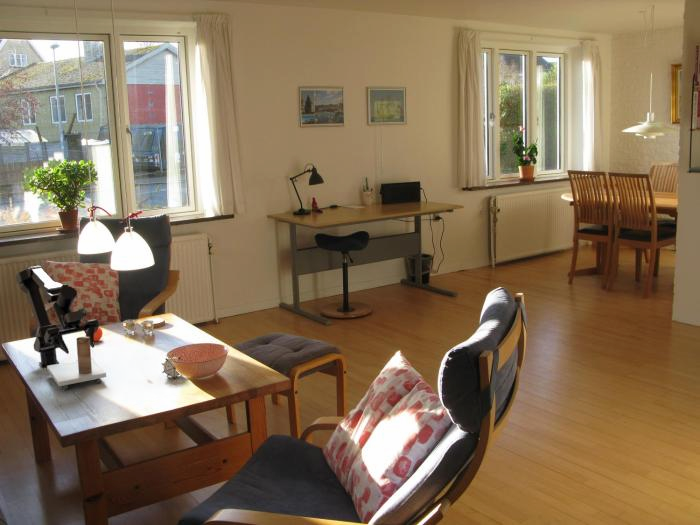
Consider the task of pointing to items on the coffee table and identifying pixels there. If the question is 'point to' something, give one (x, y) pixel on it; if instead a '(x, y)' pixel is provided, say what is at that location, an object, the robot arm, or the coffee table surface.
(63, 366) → the caster cart
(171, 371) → the grey spiky ball
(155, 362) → the coffee table surface
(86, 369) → the cylinder
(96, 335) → the clementine
